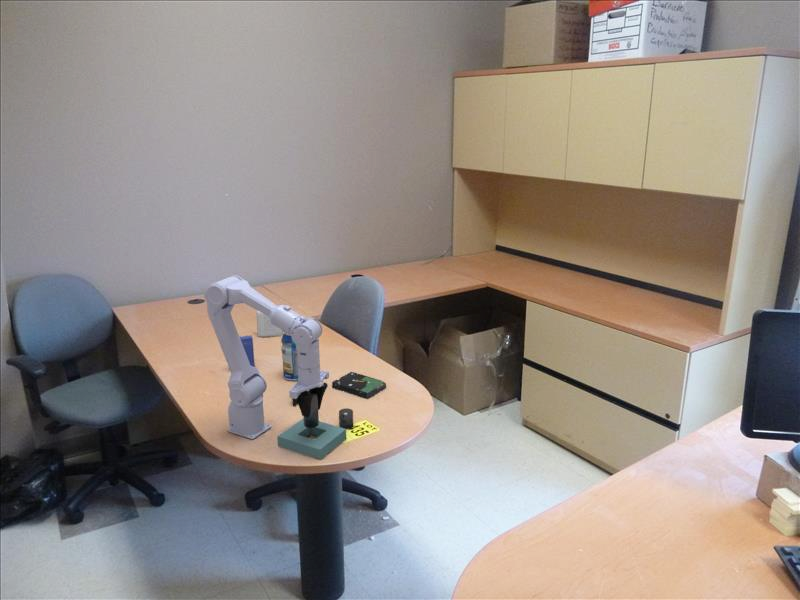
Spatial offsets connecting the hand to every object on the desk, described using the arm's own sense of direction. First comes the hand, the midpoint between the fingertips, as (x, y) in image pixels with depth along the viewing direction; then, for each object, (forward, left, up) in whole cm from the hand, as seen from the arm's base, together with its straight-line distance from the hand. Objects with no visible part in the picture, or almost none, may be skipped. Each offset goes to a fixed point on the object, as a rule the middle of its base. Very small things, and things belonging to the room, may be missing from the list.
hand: (311, 412), depth 157 cm
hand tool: (-21, +23, -10) cm, 33 cm away
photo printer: (-65, +59, -9) cm, 88 cm away
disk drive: (-7, +35, -10) cm, 37 cm away
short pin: (+3, +12, -9) cm, 15 cm away
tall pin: (0, 0, -4) cm, 4 cm away
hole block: (0, 0, -9) cm, 9 cm away
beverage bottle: (-31, +32, -9) cm, 46 cm away
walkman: (-51, +28, -9) cm, 59 cm away
